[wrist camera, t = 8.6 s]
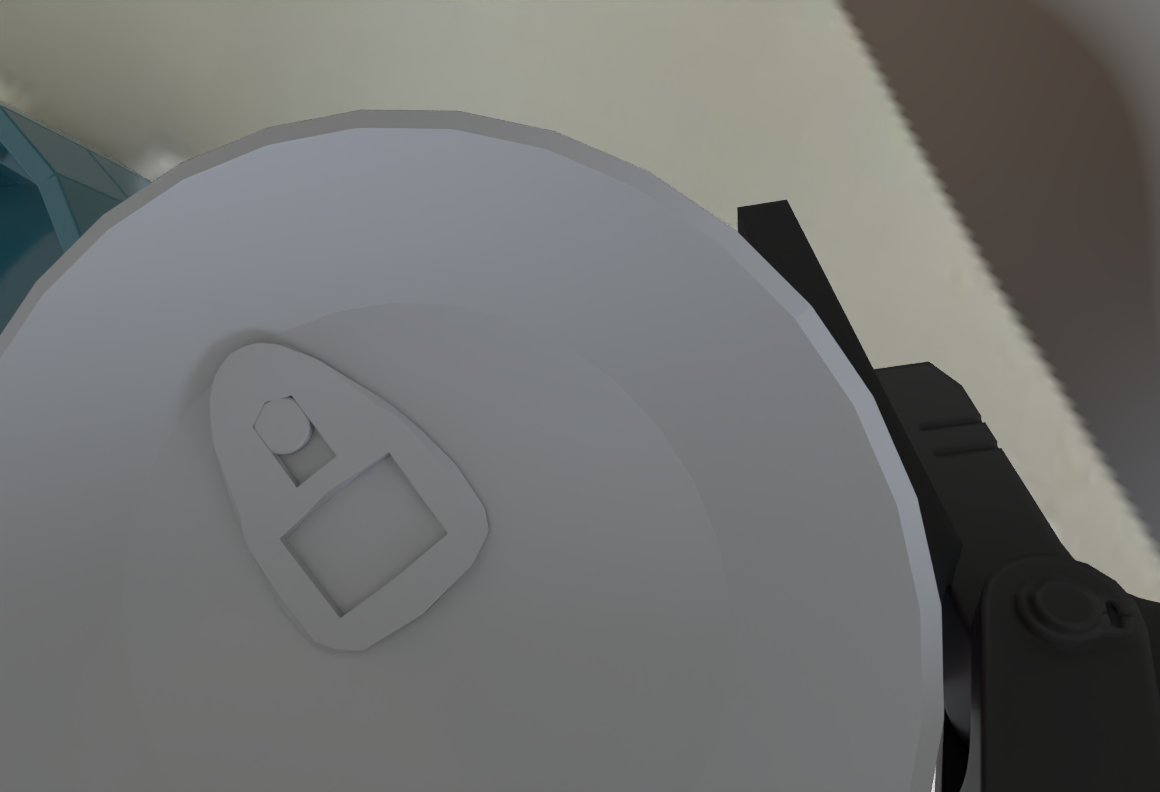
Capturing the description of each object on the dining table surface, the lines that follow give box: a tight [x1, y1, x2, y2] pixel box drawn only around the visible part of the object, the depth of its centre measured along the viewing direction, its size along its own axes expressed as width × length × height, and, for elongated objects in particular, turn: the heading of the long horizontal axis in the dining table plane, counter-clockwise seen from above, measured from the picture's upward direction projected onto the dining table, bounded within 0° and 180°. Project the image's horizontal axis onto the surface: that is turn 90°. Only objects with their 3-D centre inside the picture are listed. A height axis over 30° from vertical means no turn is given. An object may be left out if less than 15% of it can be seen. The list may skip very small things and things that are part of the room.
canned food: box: [0, 110, 944, 792], centre depth 11 cm, size 8×8×11 cm
